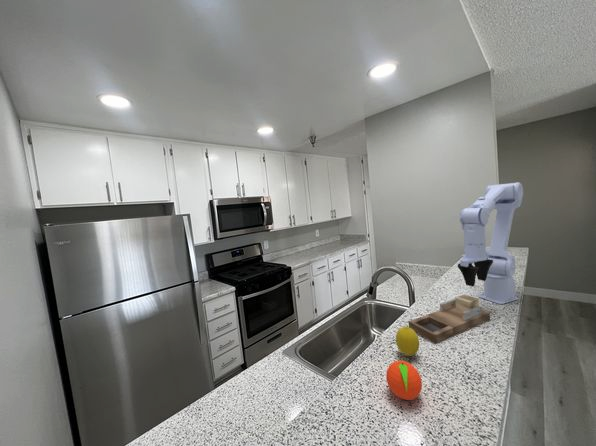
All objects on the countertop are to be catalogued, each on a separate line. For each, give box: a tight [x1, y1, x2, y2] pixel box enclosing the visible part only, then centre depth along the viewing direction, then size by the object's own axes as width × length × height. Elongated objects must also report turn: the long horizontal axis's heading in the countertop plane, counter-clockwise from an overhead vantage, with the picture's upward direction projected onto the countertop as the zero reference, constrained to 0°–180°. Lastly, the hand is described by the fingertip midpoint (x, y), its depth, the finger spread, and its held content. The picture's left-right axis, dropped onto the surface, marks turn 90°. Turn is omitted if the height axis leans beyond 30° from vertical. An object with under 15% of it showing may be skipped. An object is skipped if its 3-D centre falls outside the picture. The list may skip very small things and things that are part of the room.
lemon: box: [395, 326, 420, 357], centre depth 62 cm, size 6×6×8 cm
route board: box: [408, 307, 491, 345], centre depth 74 cm, size 25×9×2 cm, turn 112°
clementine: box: [385, 360, 423, 401], centre depth 49 cm, size 8×7×7 cm
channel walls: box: [439, 298, 482, 321], centre depth 76 cm, size 8×8×2 cm
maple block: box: [455, 294, 480, 312], centre depth 77 cm, size 4×4×4 cm
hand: (476, 282), depth 80 cm, fingers open, 7 cm apart
